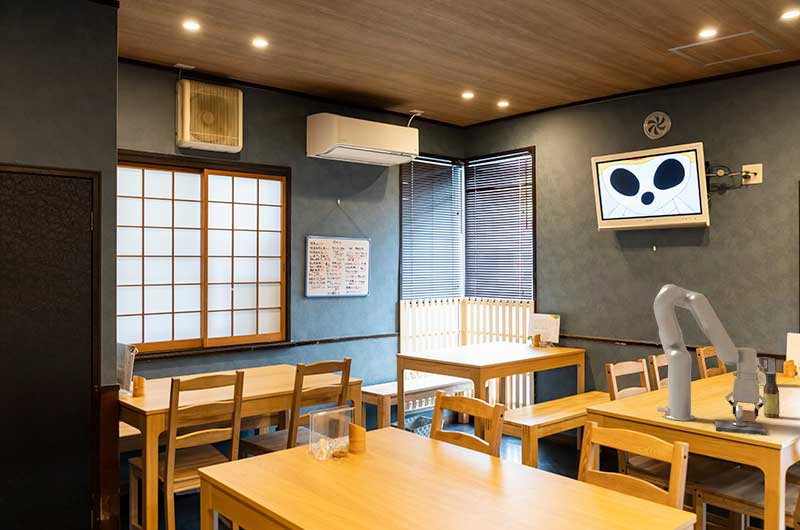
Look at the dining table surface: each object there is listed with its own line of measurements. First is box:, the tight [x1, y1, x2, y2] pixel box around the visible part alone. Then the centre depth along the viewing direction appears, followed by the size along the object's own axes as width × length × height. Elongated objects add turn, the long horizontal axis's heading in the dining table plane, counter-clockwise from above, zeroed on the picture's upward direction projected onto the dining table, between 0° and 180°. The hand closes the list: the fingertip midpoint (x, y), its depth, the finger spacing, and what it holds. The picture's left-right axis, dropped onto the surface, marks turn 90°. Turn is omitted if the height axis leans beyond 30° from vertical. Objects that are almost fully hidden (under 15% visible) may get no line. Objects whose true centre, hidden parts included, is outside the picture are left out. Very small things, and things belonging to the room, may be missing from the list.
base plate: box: [714, 419, 767, 436], centre depth 273 cm, size 18×16×2 cm
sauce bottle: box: [762, 372, 780, 419], centre depth 296 cm, size 7×6×20 cm
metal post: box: [731, 404, 747, 427], centre depth 273 cm, size 6×6×8 cm
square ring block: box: [742, 409, 756, 423], centre depth 285 cm, size 7×7×4 cm
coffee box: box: [756, 356, 777, 386], centre depth 380 cm, size 9×6×16 cm
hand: (745, 416), depth 285 cm, fingers closed on square ring block, 7 cm apart
